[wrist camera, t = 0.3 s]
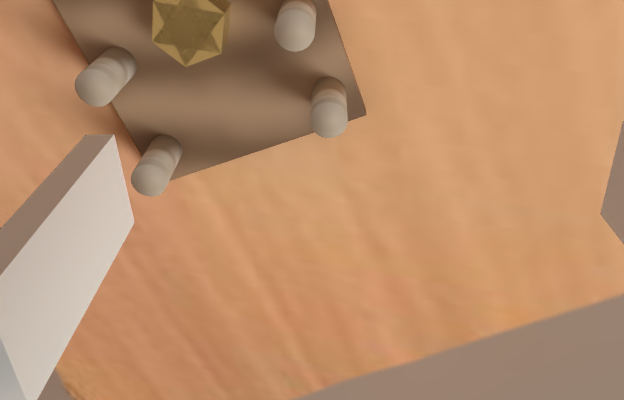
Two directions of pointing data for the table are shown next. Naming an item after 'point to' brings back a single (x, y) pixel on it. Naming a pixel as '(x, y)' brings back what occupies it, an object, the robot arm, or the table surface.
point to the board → (215, 83)
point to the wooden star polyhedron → (191, 28)
